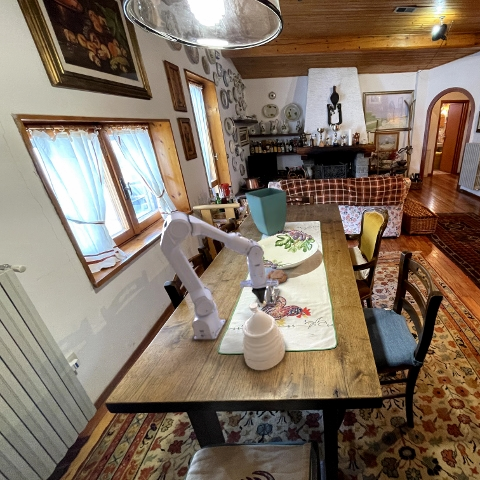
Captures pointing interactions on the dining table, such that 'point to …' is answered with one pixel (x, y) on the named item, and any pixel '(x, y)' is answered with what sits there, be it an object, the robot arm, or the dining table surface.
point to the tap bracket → (270, 296)
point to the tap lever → (265, 298)
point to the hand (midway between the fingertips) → (262, 301)
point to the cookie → (277, 276)
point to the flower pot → (268, 209)
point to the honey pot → (262, 340)
